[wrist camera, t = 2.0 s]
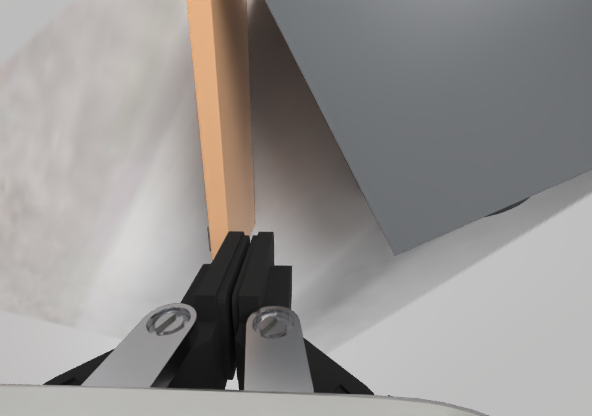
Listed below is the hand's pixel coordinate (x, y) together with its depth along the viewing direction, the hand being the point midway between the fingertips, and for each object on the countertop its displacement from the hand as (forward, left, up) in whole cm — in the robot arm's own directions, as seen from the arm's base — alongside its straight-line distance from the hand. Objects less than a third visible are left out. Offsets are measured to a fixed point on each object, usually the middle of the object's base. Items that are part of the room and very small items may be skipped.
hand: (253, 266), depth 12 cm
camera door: (+1, -5, -12) cm, 13 cm away
